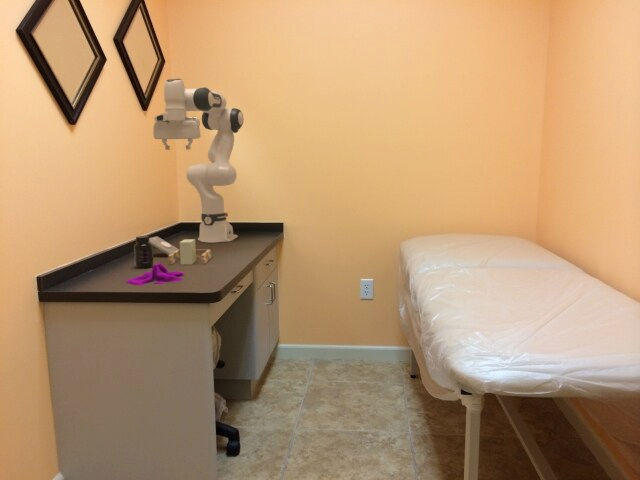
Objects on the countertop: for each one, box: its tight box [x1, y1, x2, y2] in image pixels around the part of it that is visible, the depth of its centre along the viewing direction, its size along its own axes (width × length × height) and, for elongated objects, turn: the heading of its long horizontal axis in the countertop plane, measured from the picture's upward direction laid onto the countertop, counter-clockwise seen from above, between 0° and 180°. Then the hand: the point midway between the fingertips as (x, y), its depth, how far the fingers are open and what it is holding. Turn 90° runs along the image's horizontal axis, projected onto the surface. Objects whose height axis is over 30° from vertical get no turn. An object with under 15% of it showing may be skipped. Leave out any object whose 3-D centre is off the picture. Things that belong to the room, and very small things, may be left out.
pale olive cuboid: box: [179, 238, 197, 265], centre depth 202 cm, size 7×4×9 cm, turn 0°
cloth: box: [125, 262, 185, 286], centre depth 175 cm, size 22×19×6 cm
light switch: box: [149, 236, 180, 256], centre depth 218 cm, size 8×6×14 cm
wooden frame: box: [167, 248, 213, 266], centre depth 206 cm, size 14×14×4 cm
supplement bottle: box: [133, 235, 155, 269], centre depth 195 cm, size 7×7×12 cm
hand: (177, 149), depth 218 cm, fingers open, 8 cm apart
